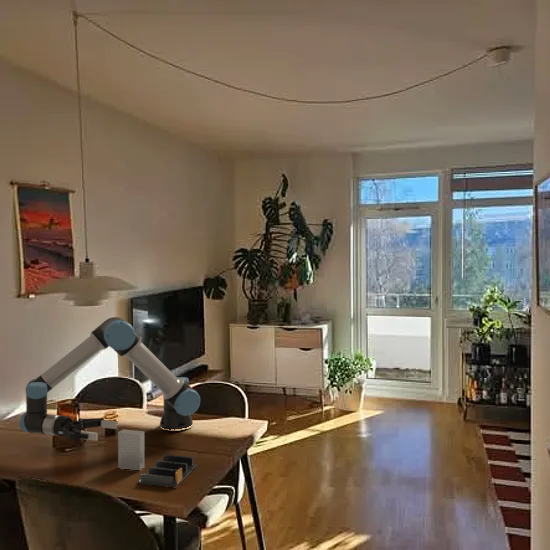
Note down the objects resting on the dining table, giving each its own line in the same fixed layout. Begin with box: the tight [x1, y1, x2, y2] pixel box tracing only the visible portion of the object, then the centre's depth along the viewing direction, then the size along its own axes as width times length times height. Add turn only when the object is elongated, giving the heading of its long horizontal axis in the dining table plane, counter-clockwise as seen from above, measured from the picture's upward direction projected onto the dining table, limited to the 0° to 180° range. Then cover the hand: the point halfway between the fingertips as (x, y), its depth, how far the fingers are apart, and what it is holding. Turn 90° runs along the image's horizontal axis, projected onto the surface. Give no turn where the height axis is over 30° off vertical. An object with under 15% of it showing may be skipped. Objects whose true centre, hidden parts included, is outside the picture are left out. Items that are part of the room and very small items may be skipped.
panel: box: [117, 429, 145, 471], centre depth 199 cm, size 4×9×14 cm, turn 77°
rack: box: [136, 453, 198, 488], centre depth 193 cm, size 19×15×5 cm
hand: (107, 430), depth 201 cm, fingers open, 13 cm apart
